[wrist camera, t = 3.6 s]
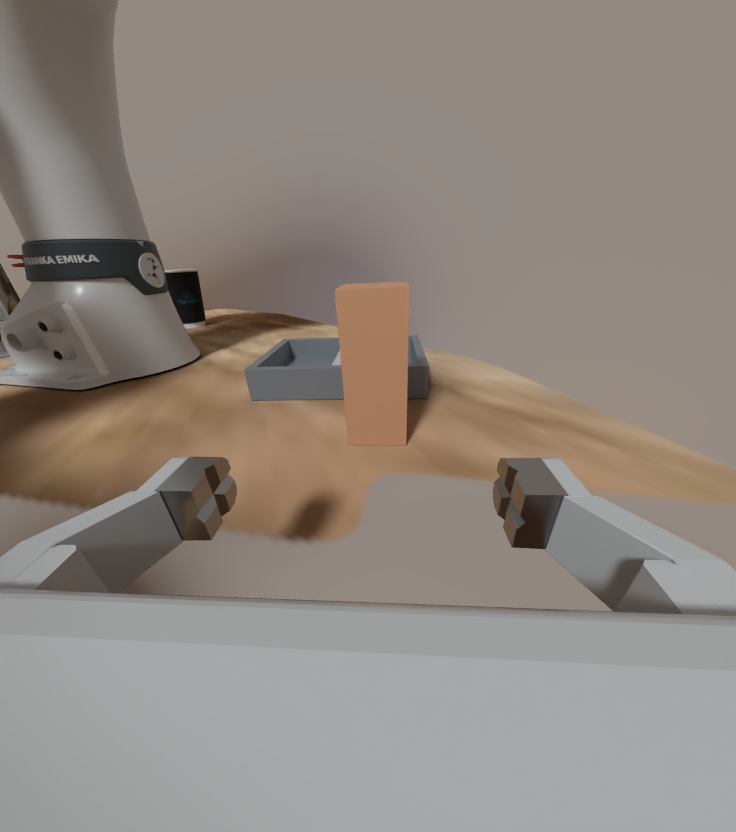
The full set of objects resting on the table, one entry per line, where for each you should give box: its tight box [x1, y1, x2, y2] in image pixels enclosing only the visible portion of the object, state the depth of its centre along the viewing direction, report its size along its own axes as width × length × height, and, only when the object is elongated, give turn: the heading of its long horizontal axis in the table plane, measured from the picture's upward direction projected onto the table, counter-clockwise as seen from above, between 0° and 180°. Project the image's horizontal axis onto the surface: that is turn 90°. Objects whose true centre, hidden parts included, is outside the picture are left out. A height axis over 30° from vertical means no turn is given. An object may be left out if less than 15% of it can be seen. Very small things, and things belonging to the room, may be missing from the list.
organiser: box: [244, 335, 429, 400], centre depth 32 cm, size 16×12×3 cm
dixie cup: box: [164, 269, 206, 329], centre depth 63 cm, size 8×8×11 cm
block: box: [335, 282, 409, 446], centre depth 20 cm, size 4×4×10 cm
